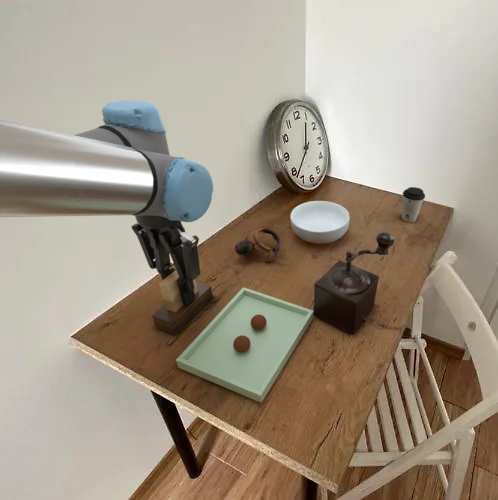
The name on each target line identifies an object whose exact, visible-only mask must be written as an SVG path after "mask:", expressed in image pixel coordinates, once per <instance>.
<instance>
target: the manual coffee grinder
mask: <svg viewBox="0 0 498 500" xmlns="http://www.w3.org/2000/svg"><path fill="white" fill-rule="evenodd" d="M375 240H376V242H377V247H376V248H375V249H360V250H358V251H356V252H354V253H353V252H352V251H351V250H347V251H346V253H345V259H344V260H345V261H343V260H339V259H338V261H336V262H335V263H334V264H333V265H332V266H331V268H329V269H328V271H326V272H325V273H324V274H323V275H322V276H321V277H320V278H319V279H318V280H317V281H316V282H315V283H314V285H313V287H314V289H313V290H314V291H313V292H314V293H313V311H314V313H313V317H316V318H317V319H319V320H320V321H322V322H325V323H326V324H328V325H330V326H332V327H334V328H336V329H339V330H340V331H343V332H344V333H346V334H349V335H353V336H354V335H355V334H357V332H358V331H359V329H361V327H363V325H364V324H366V323H367V322H368V320H369V318H370V315H371V313H372V312H373V310H374V308H375V301H376V295H377V290H378V284H379V278H380V276H379V275H378V274H377V275H376V274H374V273H373V272H370V271H367V270H365V269H363V268H360V267H358V266H356V265H353V264H352V262H353V260H355V259H357V258H358V257H361V256H362V255H379V256H387V255H389V249H390V247H392V246H394V244H395V237H394V235H393V234H392V233H390V232H388V231H382V232H381V231H380V232H379V233H377V235H376V238H375Z"/></svg>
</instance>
